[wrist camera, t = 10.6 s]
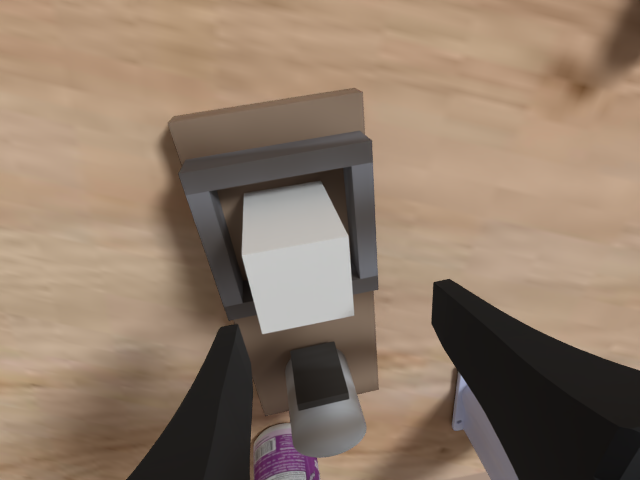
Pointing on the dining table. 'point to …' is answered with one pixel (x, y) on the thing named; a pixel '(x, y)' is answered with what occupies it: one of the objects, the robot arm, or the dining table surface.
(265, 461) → the pill bottle
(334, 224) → the white block
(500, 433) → the robot arm
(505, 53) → the dining table surface
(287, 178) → the brown board with socket
